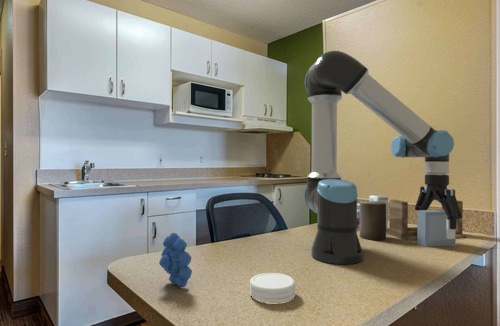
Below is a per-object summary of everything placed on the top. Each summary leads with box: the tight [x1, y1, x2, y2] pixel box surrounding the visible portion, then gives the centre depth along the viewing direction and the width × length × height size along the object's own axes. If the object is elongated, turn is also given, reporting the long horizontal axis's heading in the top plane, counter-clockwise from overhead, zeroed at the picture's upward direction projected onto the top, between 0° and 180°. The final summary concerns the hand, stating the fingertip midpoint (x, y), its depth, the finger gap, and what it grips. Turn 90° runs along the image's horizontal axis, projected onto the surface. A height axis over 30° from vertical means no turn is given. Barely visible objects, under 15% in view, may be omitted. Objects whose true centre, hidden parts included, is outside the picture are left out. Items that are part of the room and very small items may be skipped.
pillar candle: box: [359, 200, 387, 241], centre depth 123 cm, size 10×10×15 cm
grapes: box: [158, 232, 193, 288], centre depth 74 cm, size 12×7×12 cm, turn 41°
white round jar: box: [249, 272, 296, 303], centre depth 69 cm, size 10×10×4 cm
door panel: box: [416, 209, 457, 248], centre depth 113 cm, size 12×4×12 cm, turn 99°
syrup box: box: [368, 194, 389, 231], centre depth 138 cm, size 6×6×14 cm
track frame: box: [386, 199, 467, 241], centre depth 127 cm, size 26×12×14 cm, turn 99°
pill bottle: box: [357, 203, 360, 232], centre depth 137 cm, size 6×6×11 cm
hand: (436, 234), depth 113 cm, fingers open, 12 cm apart
